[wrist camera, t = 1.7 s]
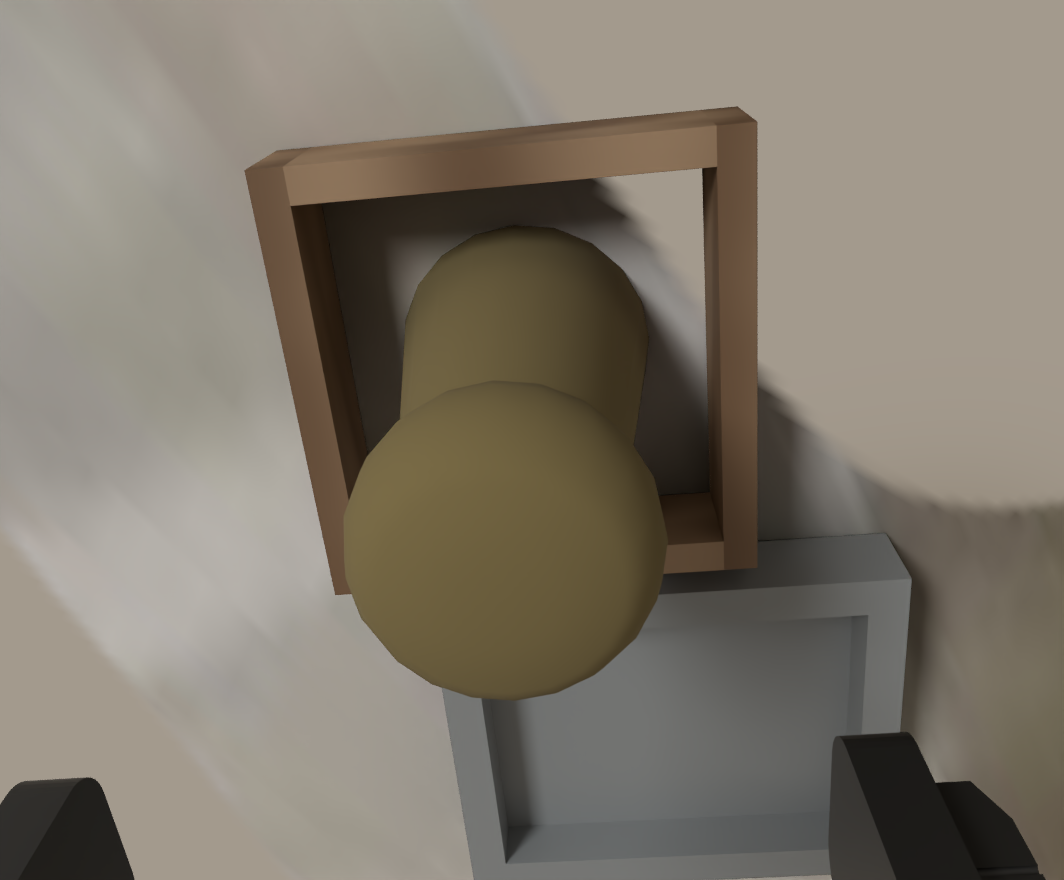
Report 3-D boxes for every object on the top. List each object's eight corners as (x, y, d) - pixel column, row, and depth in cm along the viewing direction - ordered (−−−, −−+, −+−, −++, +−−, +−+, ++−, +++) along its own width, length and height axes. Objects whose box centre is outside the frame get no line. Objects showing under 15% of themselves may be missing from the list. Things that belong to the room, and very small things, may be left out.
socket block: (737, 106, 22) (757, 121, 20) (740, 516, 26) (757, 567, 24) (276, 150, 23) (244, 170, 20) (354, 542, 27) (335, 595, 25)
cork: (697, 307, 24) (791, 546, 14) (566, 495, 26) (566, 816, 16) (479, 175, 23) (412, 332, 13) (362, 384, 25) (227, 656, 15)
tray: (885, 533, 26) (911, 578, 24) (868, 813, 31) (889, 872, 29) (438, 562, 27) (428, 609, 25) (481, 831, 31) (475, 889, 29)
